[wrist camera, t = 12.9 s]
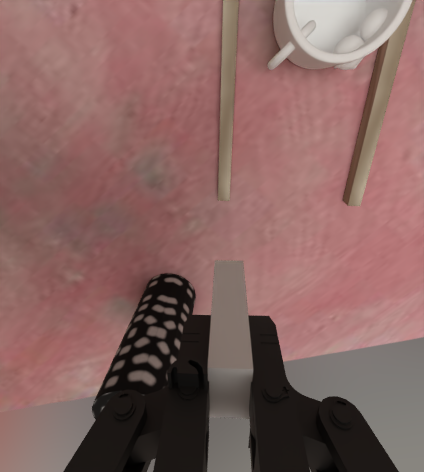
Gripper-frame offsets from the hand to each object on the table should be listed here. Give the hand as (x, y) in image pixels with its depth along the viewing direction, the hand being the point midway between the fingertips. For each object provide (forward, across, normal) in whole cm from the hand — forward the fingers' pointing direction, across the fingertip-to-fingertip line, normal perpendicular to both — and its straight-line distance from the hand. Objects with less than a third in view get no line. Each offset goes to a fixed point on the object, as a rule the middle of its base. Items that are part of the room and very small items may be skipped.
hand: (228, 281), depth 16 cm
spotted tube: (+25, -9, -21) cm, 34 cm away
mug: (+25, +8, +15) cm, 30 cm away
